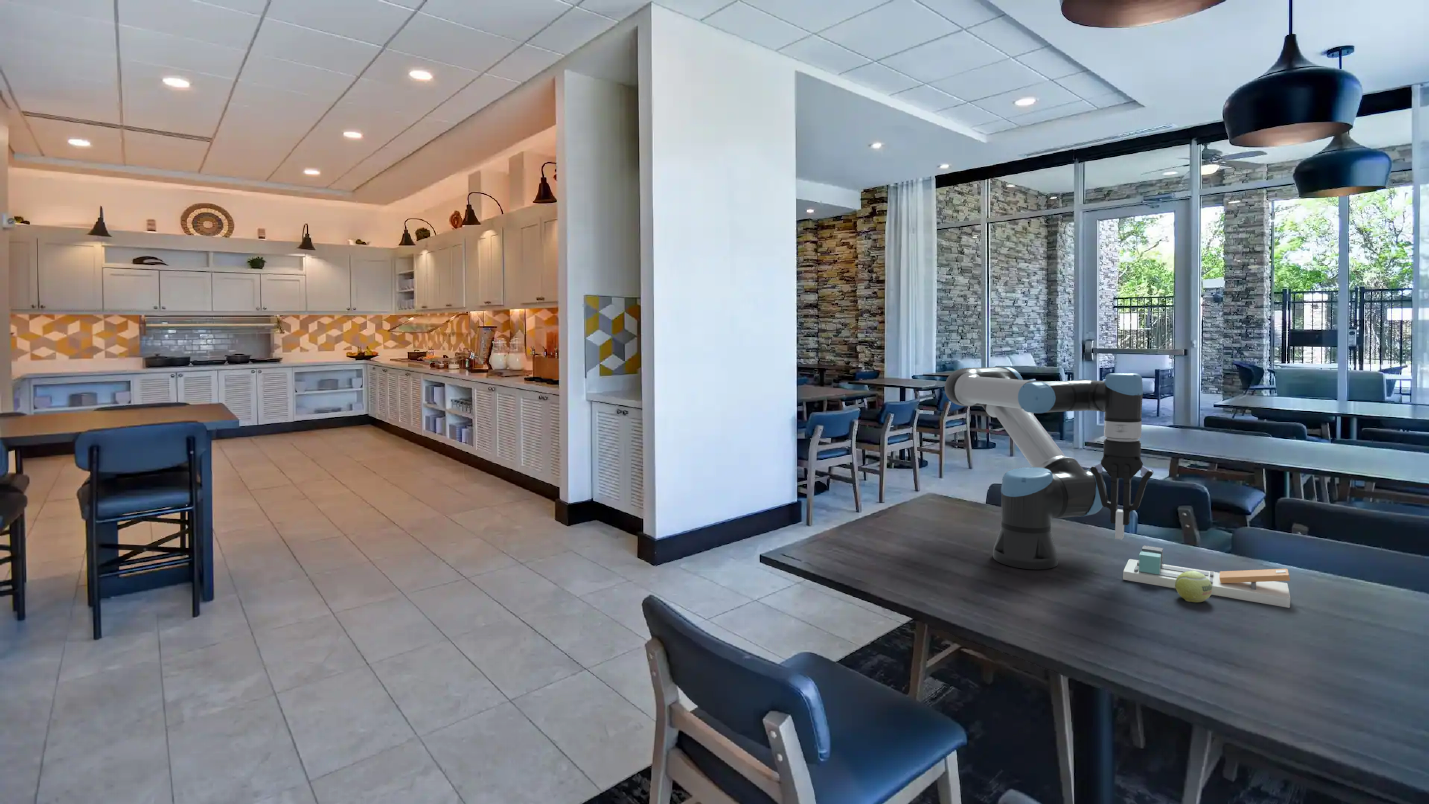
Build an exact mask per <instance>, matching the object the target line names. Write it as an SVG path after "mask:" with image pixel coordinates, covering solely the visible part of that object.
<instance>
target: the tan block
mask: <svg viewBox="0 0 1429 804" xmlns="http://www.w3.org/2000/svg"><path fill="white" fill-rule="evenodd" d="M1219 573H1220V576H1219V578H1220V582H1221V583H1237V582H1266V581H1276V582H1286V581H1287V582H1290V581H1291V578H1290V577H1291V576H1290V573H1289V569H1288V568H1271V569H1268V568H1267V569H1249V570H1248V569H1246V570H1245V569H1244V570H1224V571H1222V570H1220V571H1219Z"/></svg>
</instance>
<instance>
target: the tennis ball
mask: <svg viewBox="0 0 1429 804" xmlns="http://www.w3.org/2000/svg"><path fill="white" fill-rule="evenodd" d="M1174 589H1175V590H1176V592H1177V594H1178V595H1179V596H1180V597H1181V598H1182V599H1183V600H1185V602H1188V603H1190V602H1191V603H1202V602H1205V601H1206V600H1208V599H1209V598H1210V597H1211V596H1212V595H1211V593H1212V584H1211V582H1210V580H1209V579H1208V578H1207V577H1206V576H1205V575H1204V574H1202V573H1200V572H1197V571H1186V572H1184V573H1182V574H1180V575H1179V576H1178V577H1177V579H1176V582H1175V588H1174Z"/></svg>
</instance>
